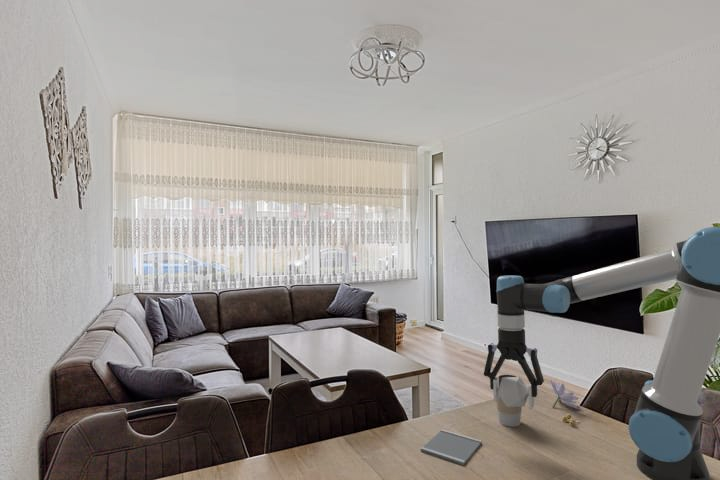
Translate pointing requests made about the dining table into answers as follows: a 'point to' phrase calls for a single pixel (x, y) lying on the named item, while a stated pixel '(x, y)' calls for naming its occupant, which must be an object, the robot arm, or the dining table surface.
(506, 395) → the die
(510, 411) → the coffee cup
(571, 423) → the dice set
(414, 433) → the dining table surface
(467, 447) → the coaster
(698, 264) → the robot arm
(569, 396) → the water lily
